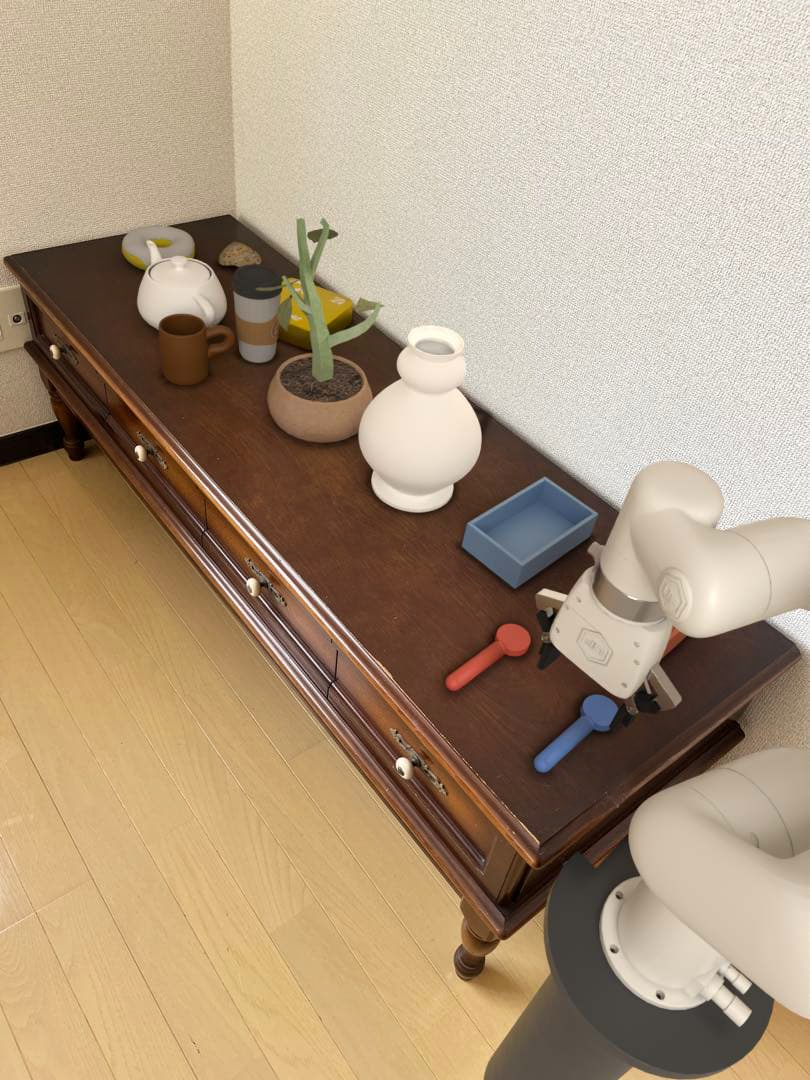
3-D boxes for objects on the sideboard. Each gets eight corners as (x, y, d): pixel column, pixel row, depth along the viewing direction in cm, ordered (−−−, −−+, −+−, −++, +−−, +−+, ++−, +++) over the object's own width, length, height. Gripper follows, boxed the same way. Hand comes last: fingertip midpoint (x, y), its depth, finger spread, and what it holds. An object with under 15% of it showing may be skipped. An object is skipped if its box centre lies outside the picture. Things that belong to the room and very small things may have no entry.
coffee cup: (273, 370, 142) (274, 291, 132) (227, 361, 142) (224, 280, 132) (287, 346, 148) (288, 268, 138) (242, 337, 148) (240, 258, 138)
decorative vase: (390, 538, 116) (413, 390, 98) (333, 464, 126) (344, 318, 109) (492, 505, 124) (529, 362, 106) (430, 437, 134) (455, 297, 116)
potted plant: (396, 427, 135) (420, 253, 114) (304, 461, 126) (311, 279, 105) (320, 360, 146) (329, 191, 125) (230, 387, 137) (224, 209, 116)
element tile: (244, 326, 151) (244, 303, 148) (289, 295, 161) (290, 272, 158) (314, 354, 147) (315, 330, 144) (355, 320, 158) (357, 297, 154)
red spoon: (459, 703, 97) (462, 693, 96) (433, 679, 99) (436, 669, 98) (535, 645, 105) (539, 635, 104) (510, 623, 107) (513, 614, 106)
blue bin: (537, 499, 126) (544, 476, 123) (589, 536, 121) (598, 513, 118) (461, 546, 116) (466, 523, 113) (514, 589, 112) (522, 566, 109)
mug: (234, 361, 143) (232, 312, 136) (237, 386, 138) (235, 337, 131) (162, 362, 140) (157, 312, 133) (162, 388, 135) (157, 337, 128)
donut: (183, 241, 172) (181, 218, 169) (206, 272, 164) (204, 248, 161) (115, 249, 166) (112, 225, 163) (135, 281, 158) (133, 256, 155)
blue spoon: (550, 786, 91) (554, 777, 89) (520, 759, 93) (524, 750, 91) (623, 717, 99) (628, 708, 97) (594, 693, 101) (599, 684, 99)
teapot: (253, 342, 148) (252, 279, 139) (171, 363, 140) (165, 298, 131) (190, 281, 161) (186, 219, 152) (113, 296, 153) (104, 233, 145)
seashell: (247, 268, 162) (217, 241, 162) (238, 289, 167) (209, 262, 167) (272, 255, 168) (243, 228, 168) (263, 275, 172) (235, 249, 172)
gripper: (536, 546, 76) (498, 657, 88) (693, 666, 68) (628, 770, 80) (585, 513, 80) (542, 623, 92) (738, 623, 72) (669, 728, 84)
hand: (582, 691), depth 86 cm, fingers open, 9 cm apart
